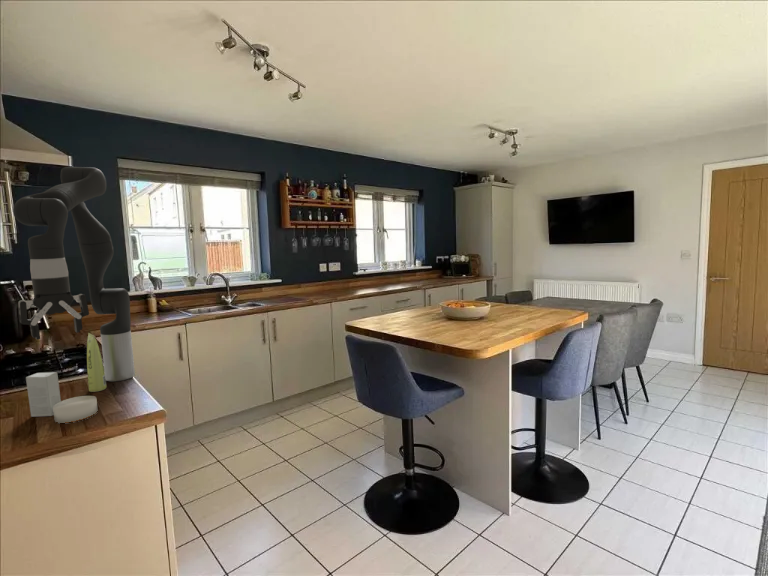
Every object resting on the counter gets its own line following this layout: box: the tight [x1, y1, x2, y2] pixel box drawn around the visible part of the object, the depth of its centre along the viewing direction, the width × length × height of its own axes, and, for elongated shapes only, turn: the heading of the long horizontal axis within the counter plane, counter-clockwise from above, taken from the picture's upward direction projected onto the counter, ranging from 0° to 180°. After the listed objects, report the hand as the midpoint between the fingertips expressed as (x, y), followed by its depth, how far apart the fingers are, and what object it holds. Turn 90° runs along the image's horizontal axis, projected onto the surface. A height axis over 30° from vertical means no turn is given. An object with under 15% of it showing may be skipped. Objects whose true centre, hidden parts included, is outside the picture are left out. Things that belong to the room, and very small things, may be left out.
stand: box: [53, 395, 99, 424], centre depth 116 cm, size 10×10×4 cm
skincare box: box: [25, 371, 62, 418], centre depth 117 cm, size 6×4×12 cm
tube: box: [86, 332, 108, 393], centre depth 135 cm, size 6×5×20 cm
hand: (58, 335), depth 107 cm, fingers open, 8 cm apart
